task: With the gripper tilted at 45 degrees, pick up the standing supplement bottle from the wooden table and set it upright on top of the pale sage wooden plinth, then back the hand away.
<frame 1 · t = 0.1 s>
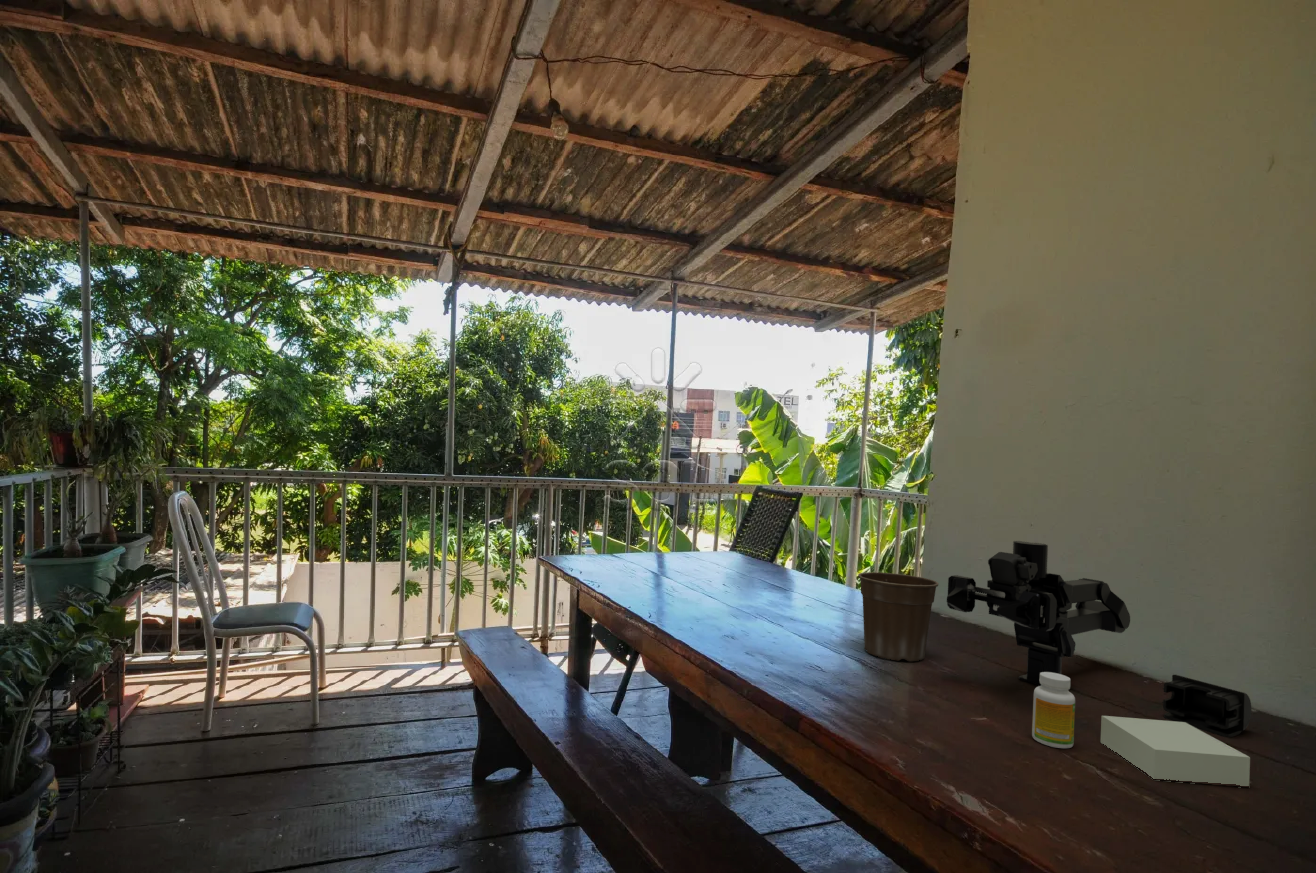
hand: (971, 605, 117), 17 cm above the table, tool horizontal, fingers open, 9 cm apart
end cap: (1204, 726, 113), on the table
plinth: (1169, 763, 96), on the table
plant pot: (893, 654, 145), on the table
supplement bottle: (1052, 742, 101), on the table
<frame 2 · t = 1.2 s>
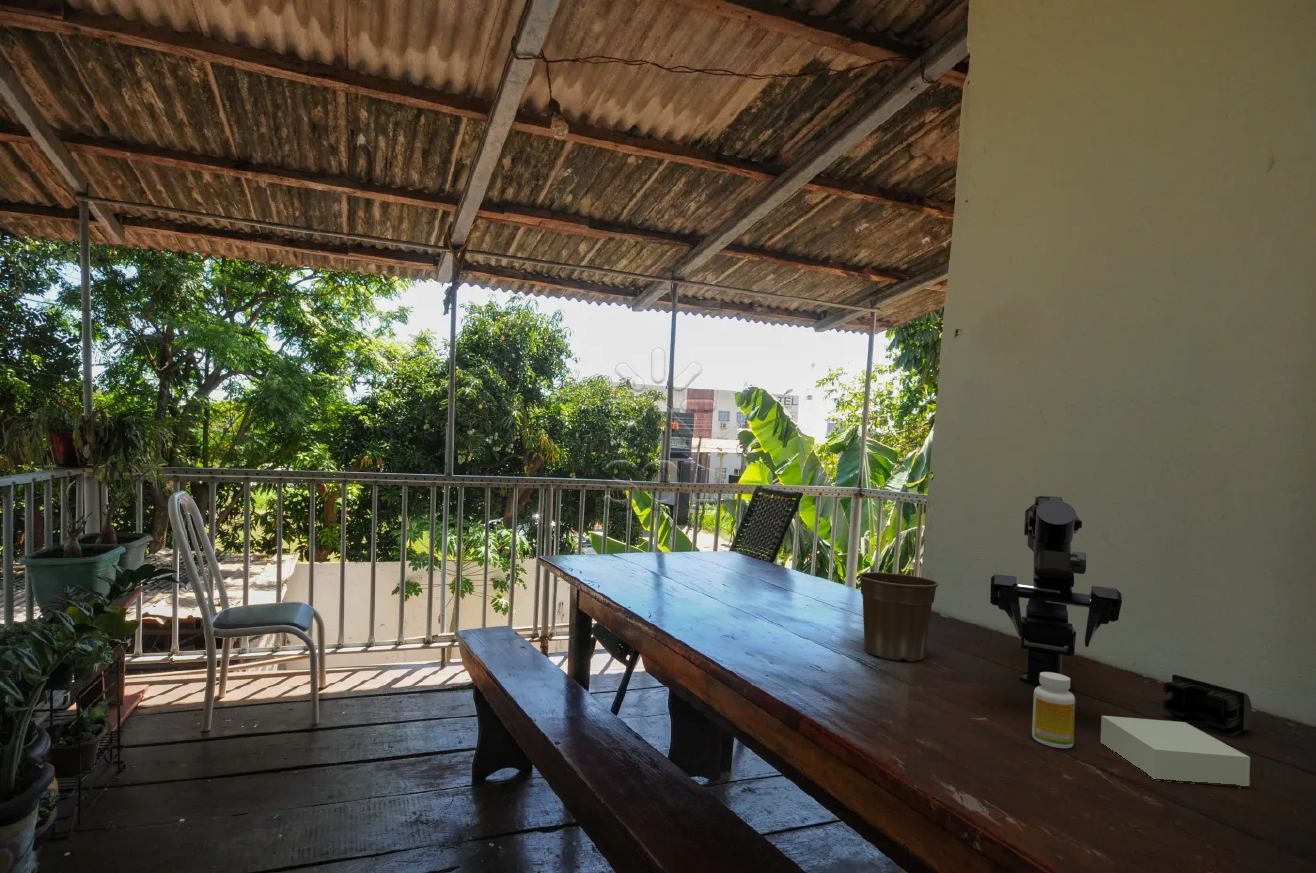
hand: (1053, 640, 108), 13 cm above the table, tool tilted 45°, fingers open, 9 cm apart
nothing on the table moved.
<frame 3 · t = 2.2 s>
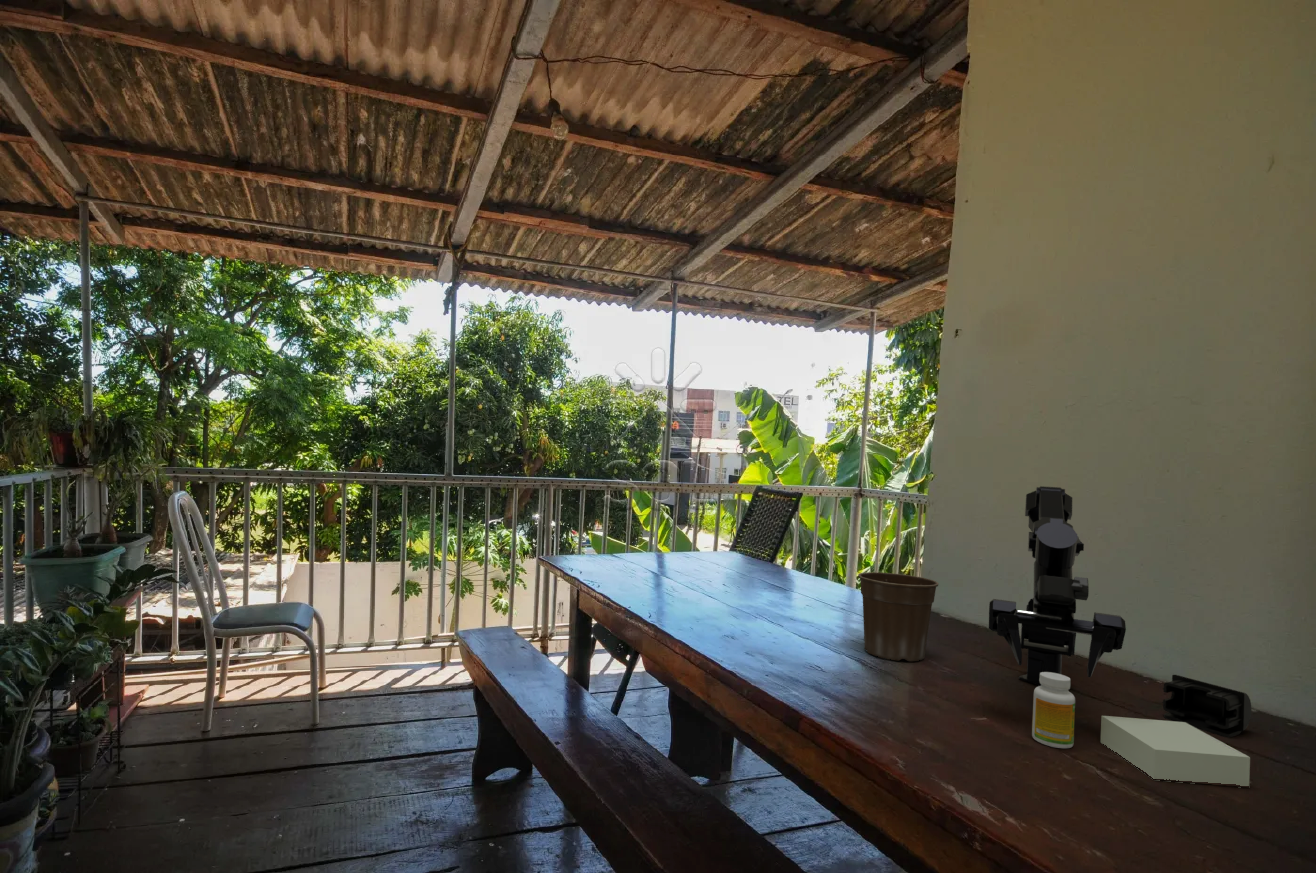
hand: (1054, 669, 104), 10 cm above the table, tool tilted 45°, fingers open, 9 cm apart
nothing on the table moved.
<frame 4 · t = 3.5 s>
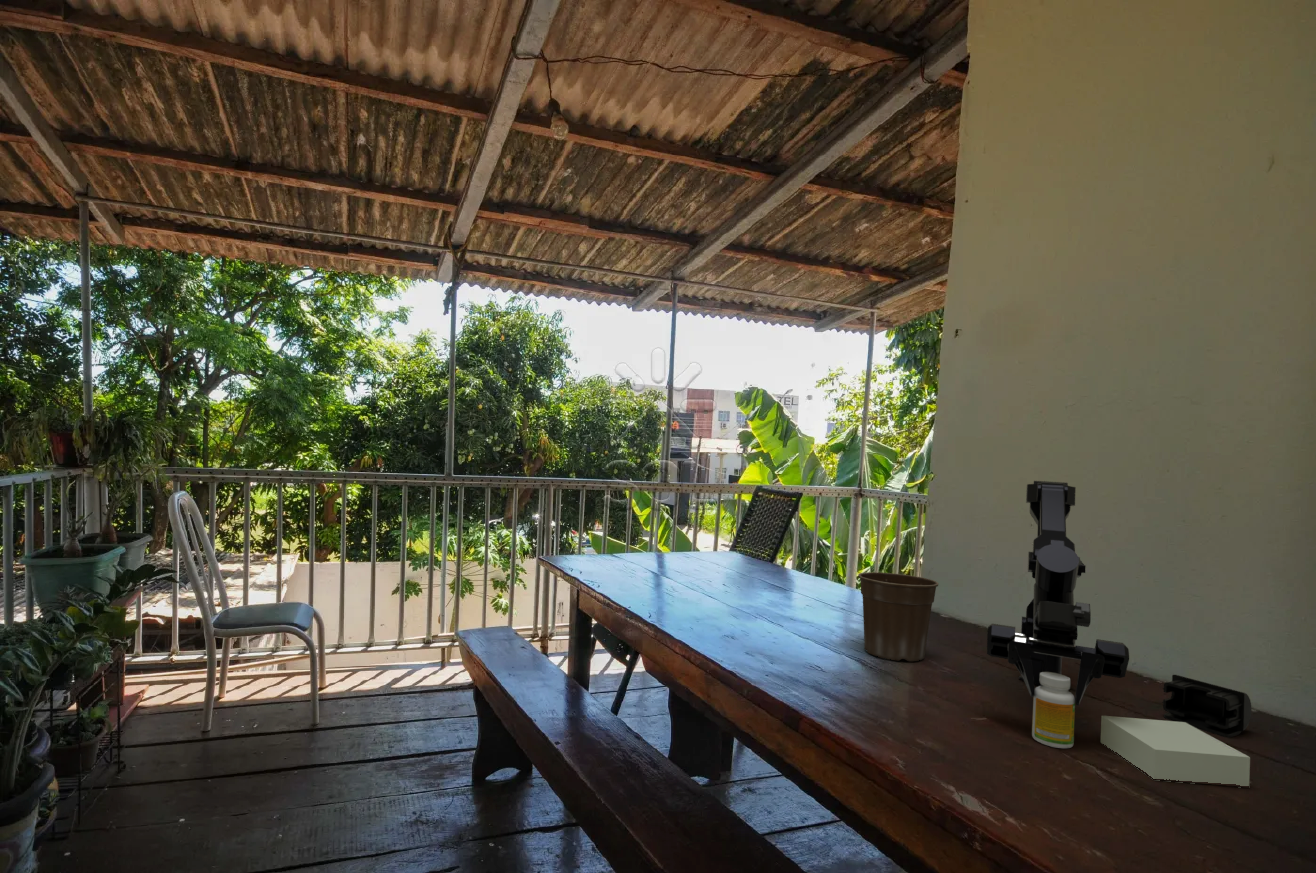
hand: (1054, 699, 100), 7 cm above the table, tool tilted 45°, fingers closed on supplement bottle, 5 cm apart
supplement bottle: (1052, 742, 101), on the table, touching gripper
everything else where it was.
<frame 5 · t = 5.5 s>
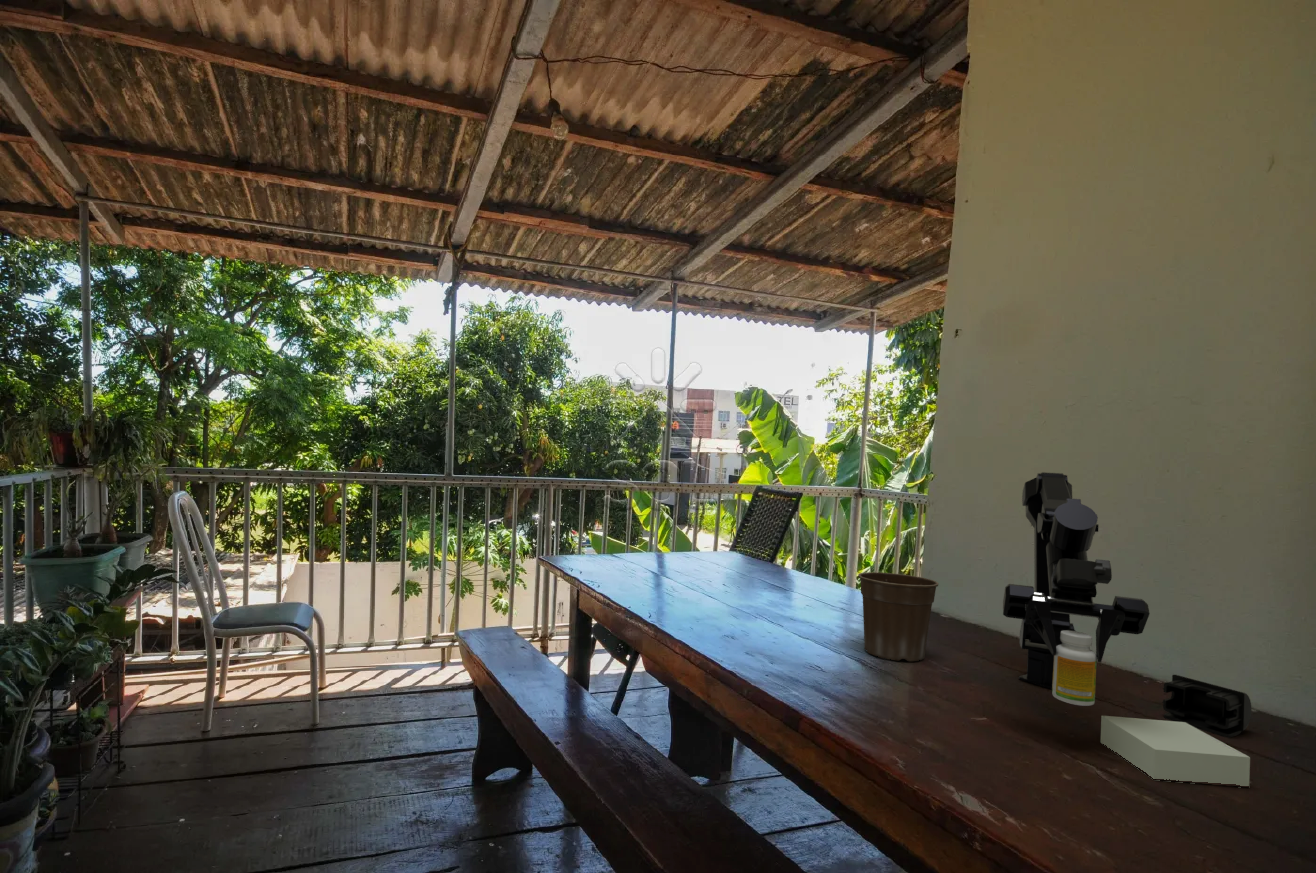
hand: (1076, 657, 99), 13 cm above the table, tool tilted 45°, fingers closed on supplement bottle, 5 cm apart
supplement bottle: (1072, 701, 100), point 6 cm above the table, touching gripper
everything else where it was.
when the fingers open (12 cm above the table, at t = 7.1 s): supplement bottle stays where it is, resting on plinth.
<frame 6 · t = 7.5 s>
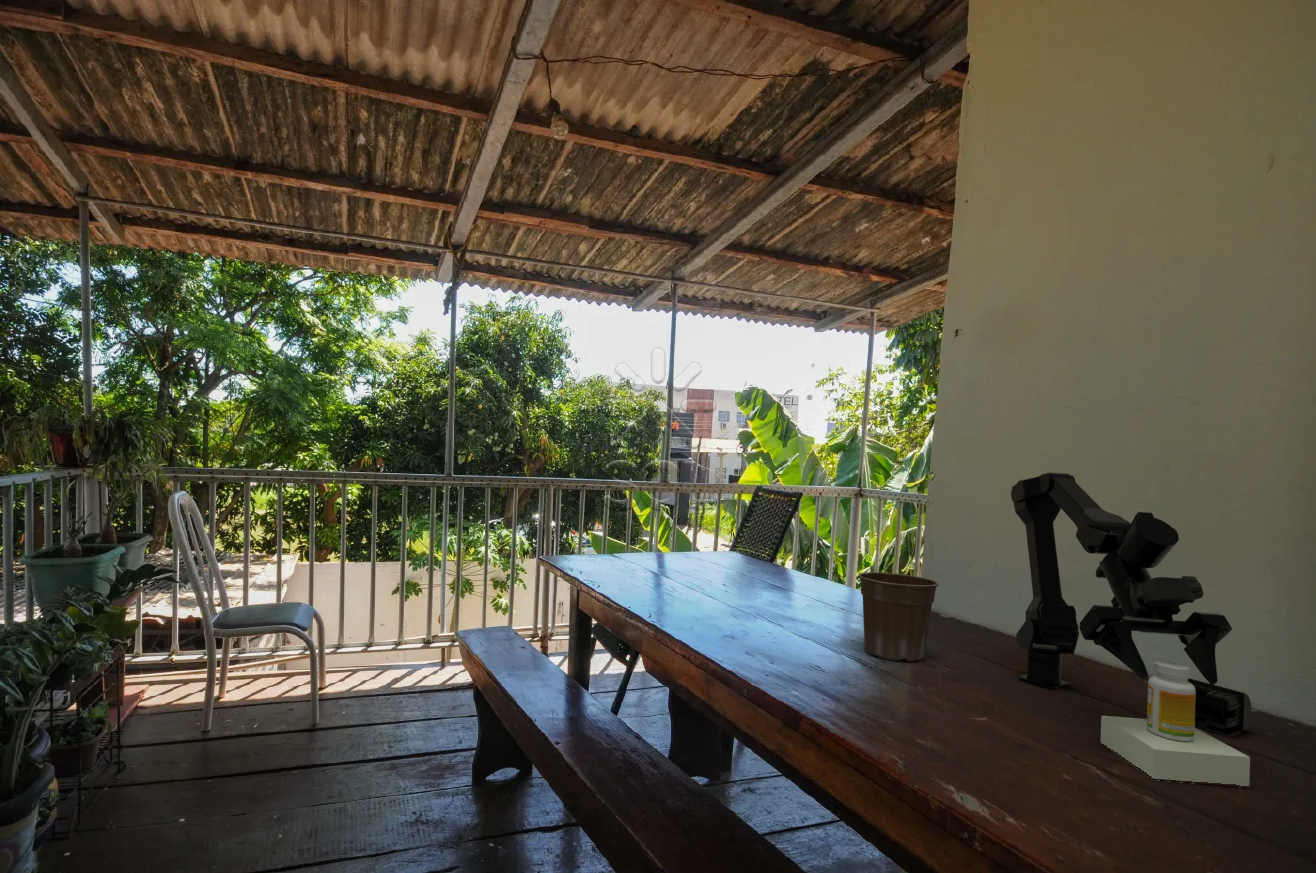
hand: (1179, 680, 95), 12 cm above the table, tool tilted 45°, fingers open, 9 cm apart
supplement bottle: (1170, 735, 96), point 4 cm above the table, touching plinth
everything else where it was.
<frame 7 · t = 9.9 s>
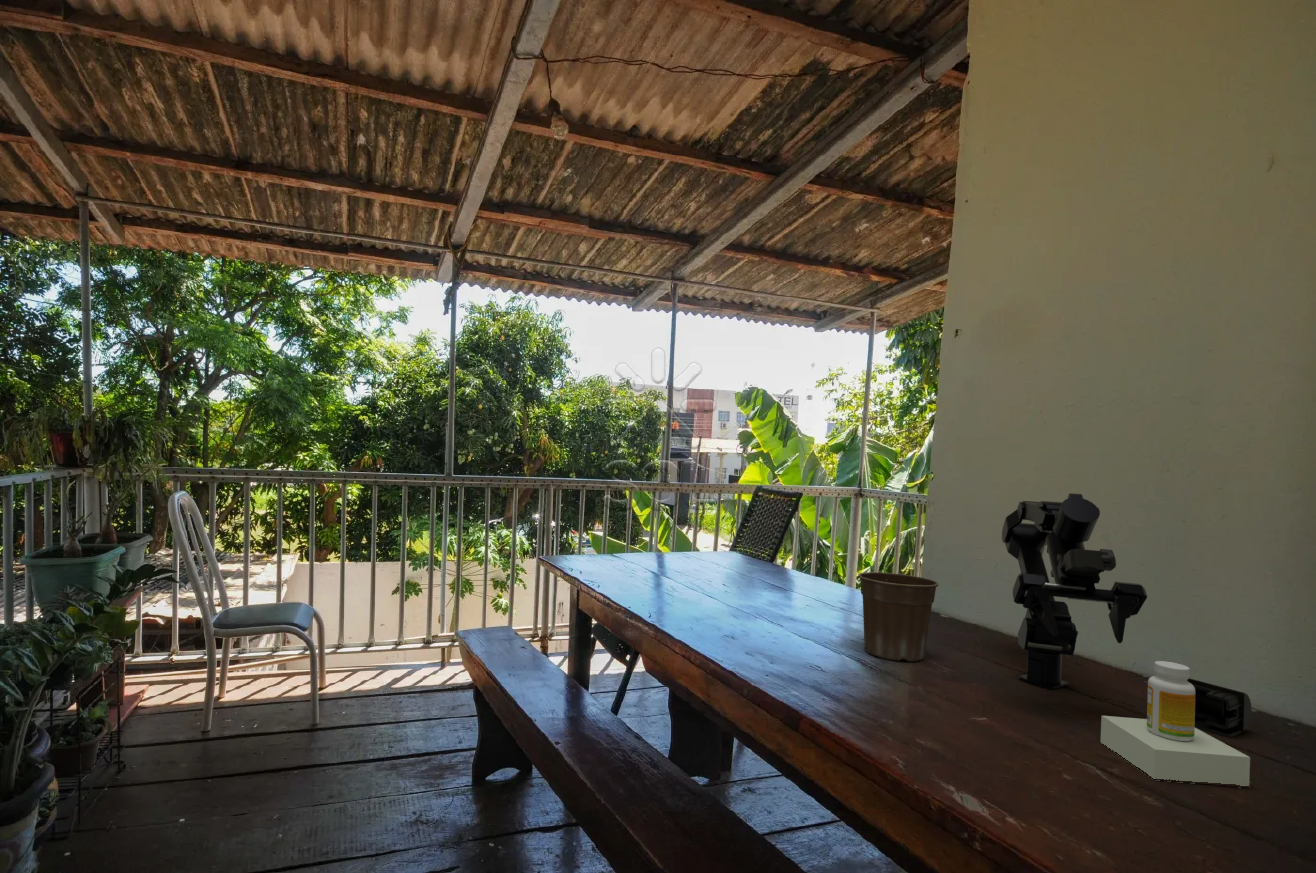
hand: (1087, 638, 109), 14 cm above the table, tool tilted 45°, fingers open, 9 cm apart
nothing on the table moved.
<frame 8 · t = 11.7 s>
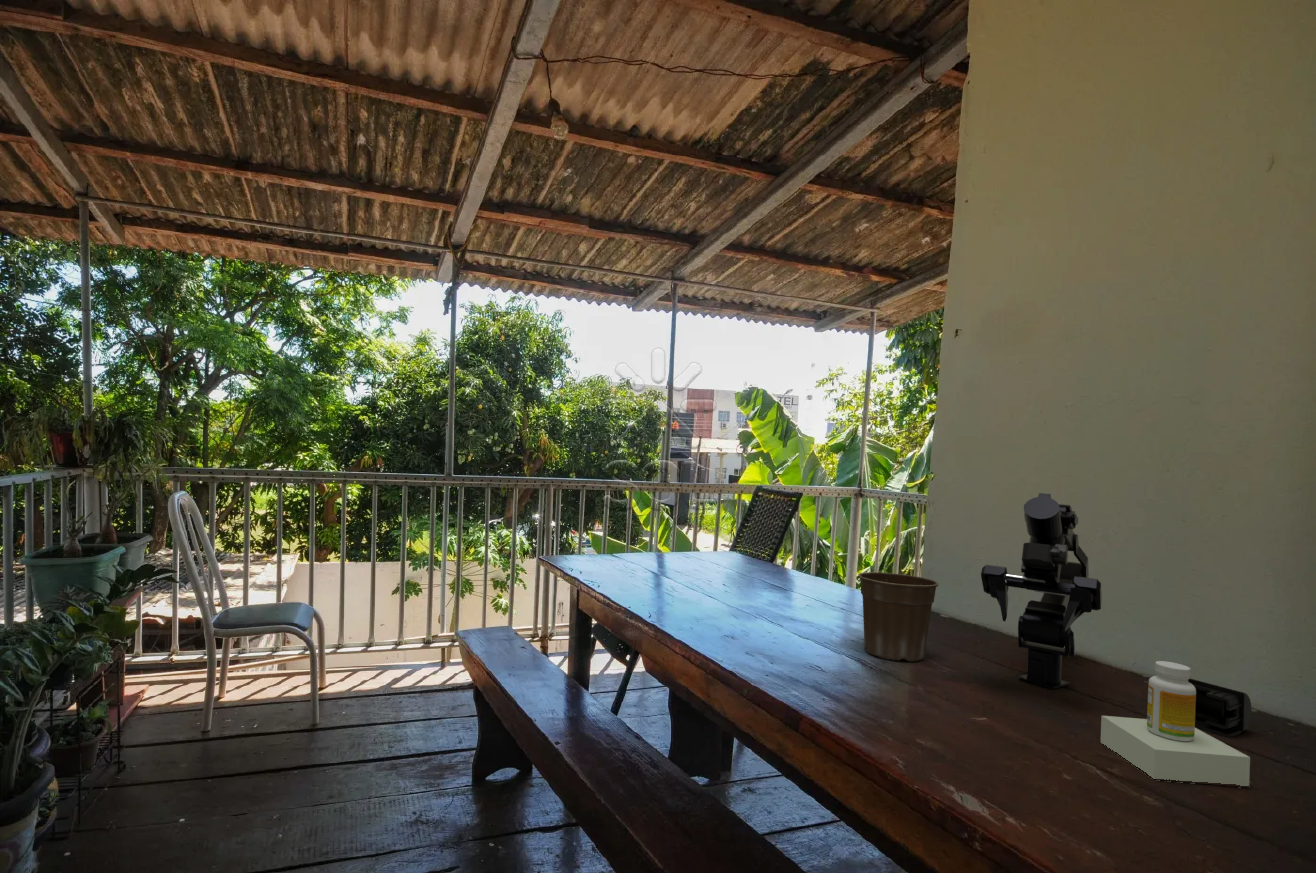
hand: (1033, 624, 118), 14 cm above the table, tool tilted 45°, fingers open, 9 cm apart
nothing on the table moved.
at the end: supplement bottle inside the target area on the plinth (0.1 cm from its centre), point 3.8 cm above the plinth's base; supplement bottle tilted 0°; the gripper is holding nothing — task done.
